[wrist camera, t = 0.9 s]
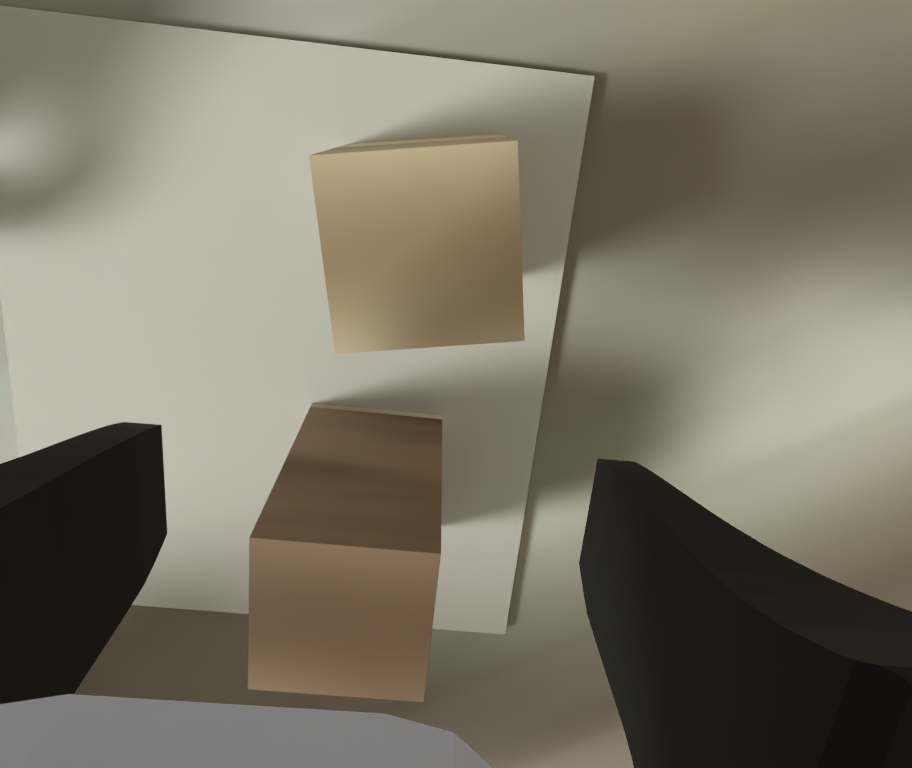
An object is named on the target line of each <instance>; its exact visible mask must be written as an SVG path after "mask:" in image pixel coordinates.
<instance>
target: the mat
mask: <svg viewBox="0 0 912 768" xmlns="http://www.w3.org/2000/svg"><path fill="white" fill-rule="evenodd" d="M594 78H595V76H590V75H581V74H573V73H565V72H556V71H548V70H539V69H531V68H523V67H514V66H506V65H497V64H489V63H481V62H472V61H464V60H455V59H447V58H439V57H430V56H422V55H413V54H405V53H397V52H388V51H380V50H371V49H363V48H355V47H346V46H338V45H329V44H321V43H313V42H304V41H296V40H287V39H279V38H271V37H262V36H254V35H245V34H237V33H229V32H220V31H212V30H203V29H195V28H187V27H178V26H170V25H161V24H153V23H145V22H136V21H128V20H119V19H111V18H103V17H94V16H86V15H77V14H69V13H61V12H52V11H44V10H35V9H27V8H19V7H10V6H2V5H0V296H1V305H2V314H3V323H4V331H5V340H6V349H7V358H8V367H9V376H10V385H11V394H12V403H13V412H14V420H15V429H16V438H17V447H18V456H19V457H22V456H24V455H27V454H30V453H32V452H35V451H38V450H40V449H43V448H46V447H48V446H51V445H54V444H56V443H59V442H62V441H65V440H67V439H70V438H73V437H75V436H78V435H81V434H84V433H86V432H89V431H92V430H95V429H98V428H101V427H105V426H108V425H112V424H116V423H121V422H131V423H144V424H156V425H162V444H163V462H164V481H165V500H166V518H167V536H166V538H165V540H164V543H163V545H162V547H161V550H160V552H159V554H158V557H157V559H156V561H155V563H154V566H153V568H152V570H151V572H150V574H149V576H148V578H147V580H146V582H145V584H144V586H143V588H142V589H141V591H140V592H139V594H138V596H137V597H136V599H135V600H134V602H133V603H132V605H138V606H150V607H163V608H176V609H188V610H201V611H213V612H226V613H239V614H249V537H250V535H251V533H252V531H253V529H254V527H255V524H256V522H257V520H258V518H259V516H260V514H261V512H262V509H263V507H264V505H265V503H266V501H267V499H268V496H269V494H270V492H271V490H272V488H273V486H274V484H275V481H276V479H277V477H278V475H279V473H280V471H281V469H282V466H283V464H284V462H285V460H286V458H287V456H288V453H289V451H290V449H291V447H292V445H293V443H294V441H295V438H296V436H297V434H298V432H299V430H300V428H301V426H302V423H303V421H304V419H305V417H306V415H307V413H308V410H309V408H310V406H311V404H312V403H315V404H326V405H337V406H347V407H358V408H369V409H379V410H390V411H400V412H411V413H422V414H432V415H442V508H441V558H440V567H439V575H438V584H437V592H436V601H435V609H434V618H433V626H432V629H440V630H453V631H465V632H478V633H491V634H503V635H505V632H506V626H507V620H508V613H509V607H510V601H511V595H512V588H513V582H514V576H515V570H516V564H517V557H518V551H519V545H520V539H521V532H522V526H523V520H524V514H525V508H526V501H527V495H528V489H529V483H530V476H531V470H532V464H533V458H534V452H535V445H536V439H537V433H538V427H539V420H540V414H541V408H542V402H543V395H544V389H545V383H546V377H547V371H548V364H549V358H550V352H551V346H552V339H553V333H554V327H555V321H556V315H557V308H558V302H559V296H560V290H561V283H562V277H563V271H564V265H565V259H566V252H567V246H568V240H569V234H570V227H571V221H572V215H573V209H574V203H575V196H576V190H577V184H578V178H579V171H580V165H581V159H582V153H583V146H584V140H585V134H586V128H587V122H588V115H589V109H590V103H591V97H592V90H593V84H594ZM495 133H497V134H500V135H503V136H506V137H509V138H512V139H515V140H518V165H519V193H520V221H521V249H522V278H523V306H524V334H525V341H517V342H502V343H488V344H473V345H458V346H444V347H429V348H414V349H400V350H385V351H370V352H356V353H341V354H335V350H334V342H333V335H332V327H331V320H330V312H329V304H328V297H327V289H326V282H325V274H324V266H323V259H322V251H321V244H320V236H319V228H318V221H317V213H316V206H315V198H314V191H313V183H312V175H311V168H310V160H309V155H312V154H315V153H319V152H322V151H326V150H329V149H333V148H336V147H340V146H343V145H346V144H355V143H369V142H383V141H397V140H411V139H425V138H439V137H453V136H467V135H481V134H495Z"/></svg>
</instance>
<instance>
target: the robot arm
mask: <svg viewBox="0 0 912 768" xmlns="http://www.w3.org/2000/svg"><path fill="white" fill-rule="evenodd" d="M166 536H167V518H166V500H165V481H164V462H163V444H162V425H156V424H144V423H131V422H121V423H116V424H112V425H108V426H105V427H101V428H98V429H95V430H92V431H89V432H86V433H84V434H81V435H78V436H75V437H73V438H70V439H67V440H65V441H62V442H59V443H56V444H54V445H51V446H48V447H46V448H43V449H40V450H38V451H35V452H32V453H30V454H27V455H24V456H22V457H19V458H16V459H14V460H11V461H8V462H5V463H2V464H0V768H492V767H491V766H490V765H489V764H488V763H487V762H486V761H484V760H483V759H482V758H481V757H480V756H479V755H478V754H477V753H476V752H475V751H474V750H472V749H471V748H470V747H469V746H468V745H467V744H466V743H465V742H464V741H463V740H461V739H460V738H459V737H458V736H457V735H456V734H455V733H454V732H451V731H447V730H443V729H440V728H436V727H432V726H429V725H425V724H421V723H418V722H414V721H411V720H407V719H403V718H400V717H396V716H392V715H389V714H384V713H368V712H352V711H336V710H319V709H303V708H287V707H271V706H255V705H238V704H222V703H206V702H190V701H173V700H157V699H141V698H125V697H108V696H92V695H76V694H74V692H75V691H76V689H77V688H78V686H79V685H80V683H81V682H82V680H83V679H84V677H85V676H86V674H87V673H88V671H89V670H90V668H91V666H92V665H93V663H94V662H95V660H96V659H97V657H98V656H99V654H100V653H101V651H102V650H103V648H104V647H105V645H106V644H107V642H108V641H109V639H110V637H111V636H112V634H113V633H114V631H115V630H116V628H117V627H118V625H119V624H120V622H121V621H122V619H123V618H124V616H125V614H126V613H127V611H128V610H129V608H130V607H131V605H132V603H133V602H134V600H135V599H136V597H137V596H138V594H139V592H140V591H141V589H142V588H143V586H144V584H145V582H146V580H147V578H148V576H149V574H150V572H151V570H152V568H153V566H154V563H155V561H156V559H157V557H158V554H159V552H160V550H161V547H162V545H163V543H164V540H165V538H166ZM579 565H580V572H581V578H582V585H583V592H584V597H585V603H586V608H587V614H588V617H589V621H590V624H591V627H592V631H593V634H594V637H595V640H596V643H597V647H598V650H599V653H600V656H601V659H602V662H603V665H604V668H605V672H606V675H607V678H608V681H609V684H610V687H611V690H612V693H613V696H614V699H615V703H616V706H617V709H618V712H619V715H620V718H621V721H622V724H623V727H624V730H625V734H626V738H627V742H628V745H629V749H630V753H631V756H632V760H633V765H634V768H912V612H911V611H908V610H905V609H902V608H900V607H897V606H894V605H891V604H889V603H887V602H884V601H882V600H879V599H877V598H874V597H872V596H869V595H867V594H864V593H862V592H860V591H857V590H855V589H852V588H850V587H847V586H845V585H843V584H841V583H838V582H836V581H834V580H832V579H829V578H827V577H825V576H823V575H821V574H819V573H817V572H815V571H813V570H811V569H809V568H807V567H805V566H803V565H801V564H799V563H797V562H795V561H793V560H791V559H789V558H787V557H785V556H783V555H781V554H779V553H777V552H776V551H774V550H772V549H770V548H768V547H767V546H765V545H763V544H761V543H760V542H758V541H756V540H755V539H753V538H751V537H750V536H748V535H746V534H745V533H743V532H742V531H740V530H738V529H737V528H735V527H733V526H732V525H730V524H729V523H727V522H725V521H724V520H722V519H721V518H719V517H718V516H716V515H715V514H713V513H712V512H710V511H709V510H707V509H706V508H704V507H703V506H701V505H700V504H698V503H697V502H695V501H694V500H692V499H691V498H690V497H688V496H687V495H685V494H684V493H682V492H681V491H679V490H678V489H677V488H675V487H674V486H672V485H671V484H669V483H668V482H666V481H665V480H664V479H662V478H661V477H659V476H658V475H656V474H655V473H653V472H651V471H650V470H648V469H647V468H645V467H643V466H641V465H640V464H638V463H635V462H630V461H618V460H605V459H598V460H597V466H596V472H595V477H594V483H593V489H592V494H591V500H590V506H589V511H588V517H587V522H586V528H585V534H584V539H583V545H582V551H581V556H580V562H579Z"/></svg>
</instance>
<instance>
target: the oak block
mask: <svg viewBox="0 0 912 768" xmlns="http://www.w3.org/2000/svg"><path fill="white" fill-rule="evenodd" d="M309 160H310V168H311V175H312V183H313V191H314V198H315V206H316V213H317V221H318V228H319V236H320V244H321V251H322V259H323V266H324V274H325V282H326V289H327V297H328V304H329V312H330V320H331V327H332V335H333V342H334V350H335V354H341V353H356V352H370V351H385V350H400V349H414V348H429V347H444V346H458V345H473V344H488V343H502V342H517V341H525V334H524V306H523V278H522V249H521V221H520V193H519V165H518V140H515V139H512V138H509V137H506V136H503V135H500V134H497V133H495V134H481V135H467V136H453V137H439V138H425V139H411V140H397V141H383V142H369V143H355V144H346V145H343V146H340V147H336V148H333V149H329V150H326V151H322V152H319V153H315V154H312V155H309Z"/></svg>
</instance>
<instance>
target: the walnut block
mask: <svg viewBox="0 0 912 768" xmlns="http://www.w3.org/2000/svg"><path fill="white" fill-rule="evenodd" d="M441 508H442V415H432V414H422V413H411V412H400V411H390V410H379V409H369V408H358V407H347V406H337V405H326V404H315V403H312V404H311V406H310V408H309V410H308V413H307V415H306V417H305V419H304V421H303V423H302V426H301V428H300V430H299V432H298V434H297V436H296V438H295V441H294V443H293V445H292V447H291V449H290V451H289V453H288V456H287V458H286V460H285V462H284V464H283V466H282V469H281V471H280V473H279V475H278V477H277V479H276V481H275V484H274V486H273V488H272V490H271V492H270V494H269V496H268V499H267V501H266V503H265V505H264V507H263V509H262V512H261V514H260V516H259V518H258V520H257V522H256V524H255V527H254V529H253V531H252V533H251V535H250V537H249V620H248V689H250V690H264V691H277V692H291V693H304V694H318V695H331V696H345V697H358V698H372V699H385V700H399V701H412V702H424V694H425V686H426V677H427V669H428V660H429V652H430V643H431V635H432V626H433V618H434V609H435V601H436V592H437V584H438V575H439V567H440V558H441Z"/></svg>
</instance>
